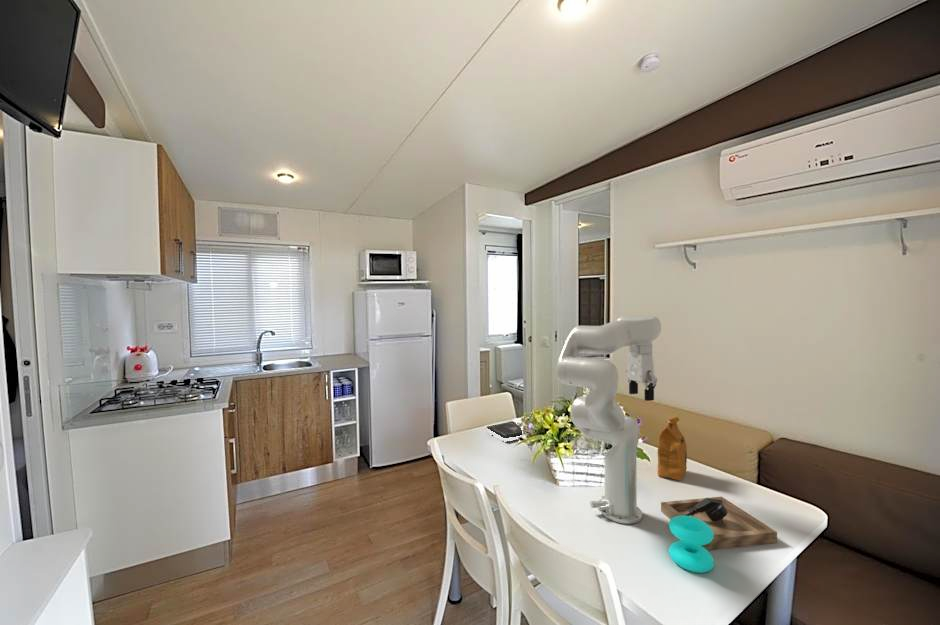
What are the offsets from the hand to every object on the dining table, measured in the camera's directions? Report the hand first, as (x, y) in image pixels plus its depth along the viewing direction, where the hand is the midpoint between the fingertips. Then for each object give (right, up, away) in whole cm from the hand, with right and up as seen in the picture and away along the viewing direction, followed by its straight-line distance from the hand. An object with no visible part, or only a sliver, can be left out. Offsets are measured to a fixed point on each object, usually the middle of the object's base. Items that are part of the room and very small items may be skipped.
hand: (641, 396), depth 137 cm
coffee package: (+17, -33, +11) cm, 39 cm away
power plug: (+9, -33, -22) cm, 40 cm away
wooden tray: (+12, -34, -23) cm, 42 cm away
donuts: (-4, -35, -38) cm, 52 cm away
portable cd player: (-41, -33, +59) cm, 79 cm away
